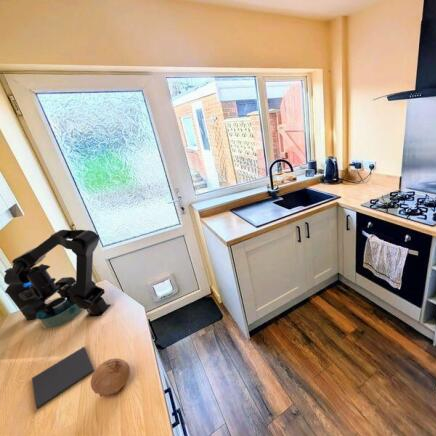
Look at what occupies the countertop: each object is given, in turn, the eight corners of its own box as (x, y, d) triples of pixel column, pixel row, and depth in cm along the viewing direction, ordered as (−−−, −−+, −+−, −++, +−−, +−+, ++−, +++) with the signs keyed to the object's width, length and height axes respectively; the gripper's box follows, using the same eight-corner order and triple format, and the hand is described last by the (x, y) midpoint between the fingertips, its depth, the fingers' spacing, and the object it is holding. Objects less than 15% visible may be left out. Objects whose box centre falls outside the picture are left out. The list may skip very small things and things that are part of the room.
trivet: (33, 379, 80) (31, 378, 80) (84, 348, 89) (83, 346, 89) (37, 409, 71) (36, 407, 71) (94, 371, 80) (93, 369, 80)
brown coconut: (134, 383, 78) (139, 359, 76) (105, 410, 69) (110, 384, 67) (111, 368, 80) (116, 344, 77) (80, 392, 71) (84, 367, 69)
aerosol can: (23, 324, 104) (-6, 287, 95) (30, 312, 110) (4, 276, 102) (47, 316, 107) (21, 279, 98) (53, 304, 114) (30, 269, 105)
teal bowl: (92, 302, 112) (87, 293, 110) (66, 328, 99) (59, 318, 97) (63, 304, 113) (57, 295, 110) (33, 330, 100) (26, 320, 98)
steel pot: (77, 308, 109) (70, 296, 106) (65, 320, 103) (56, 307, 100) (63, 309, 109) (55, 297, 106) (50, 321, 103) (41, 308, 100)
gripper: (44, 267, 107) (62, 295, 113) (-3, 298, 90) (21, 328, 97) (68, 265, 106) (84, 293, 113) (25, 296, 89) (47, 327, 96)
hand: (60, 309), depth 104 cm, fingers closed on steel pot, 6 cm apart
